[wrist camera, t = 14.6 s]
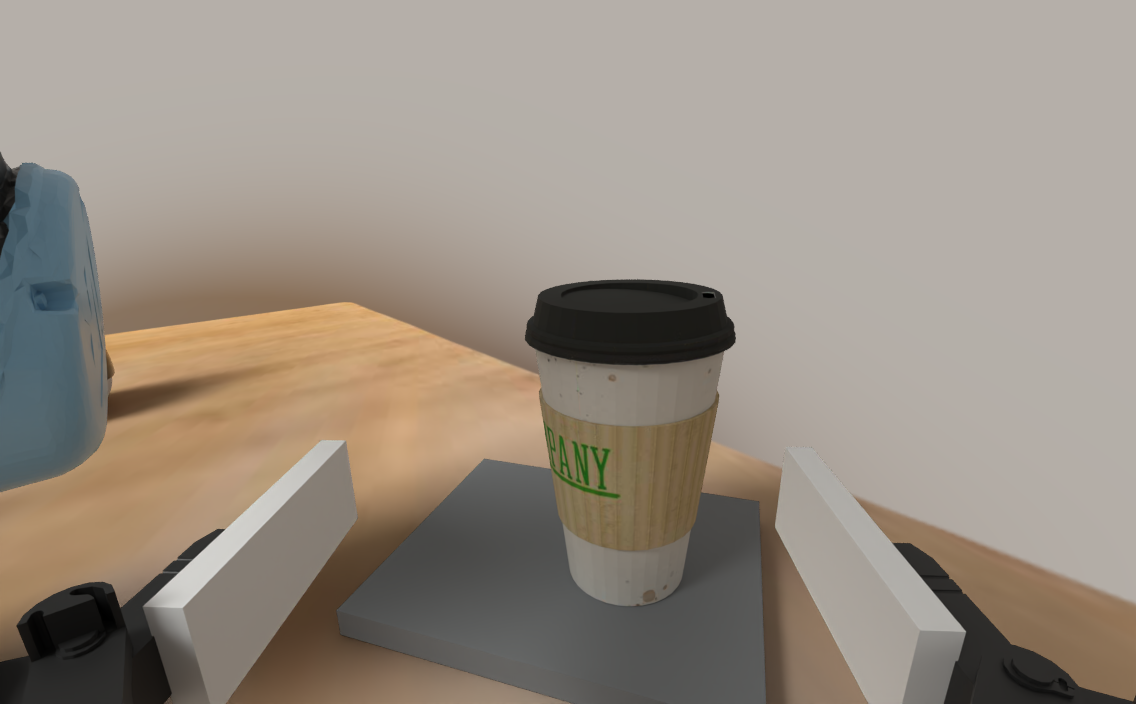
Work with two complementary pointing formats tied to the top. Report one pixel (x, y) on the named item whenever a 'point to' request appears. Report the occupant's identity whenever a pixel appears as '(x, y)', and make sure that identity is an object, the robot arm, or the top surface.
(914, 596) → the robot arm
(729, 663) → the mat
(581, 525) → the coffee cup
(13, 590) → the top surface
